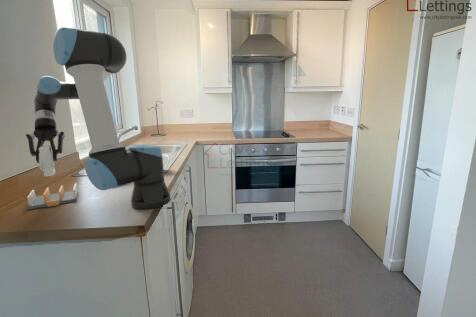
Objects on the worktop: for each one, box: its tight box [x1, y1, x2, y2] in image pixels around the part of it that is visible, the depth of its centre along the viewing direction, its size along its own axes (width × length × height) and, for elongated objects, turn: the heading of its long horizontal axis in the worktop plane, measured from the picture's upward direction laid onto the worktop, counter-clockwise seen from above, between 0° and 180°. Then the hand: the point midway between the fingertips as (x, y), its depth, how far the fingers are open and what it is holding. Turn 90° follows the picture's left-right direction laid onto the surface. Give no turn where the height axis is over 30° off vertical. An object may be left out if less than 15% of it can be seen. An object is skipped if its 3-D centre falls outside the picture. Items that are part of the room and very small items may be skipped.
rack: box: [26, 182, 79, 210], centre depth 109 cm, size 13×16×5 cm
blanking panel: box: [39, 145, 56, 177], centre depth 105 cm, size 6×3×12 cm, turn 28°
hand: (46, 167), depth 103 cm, fingers closed on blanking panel, 3 cm apart
